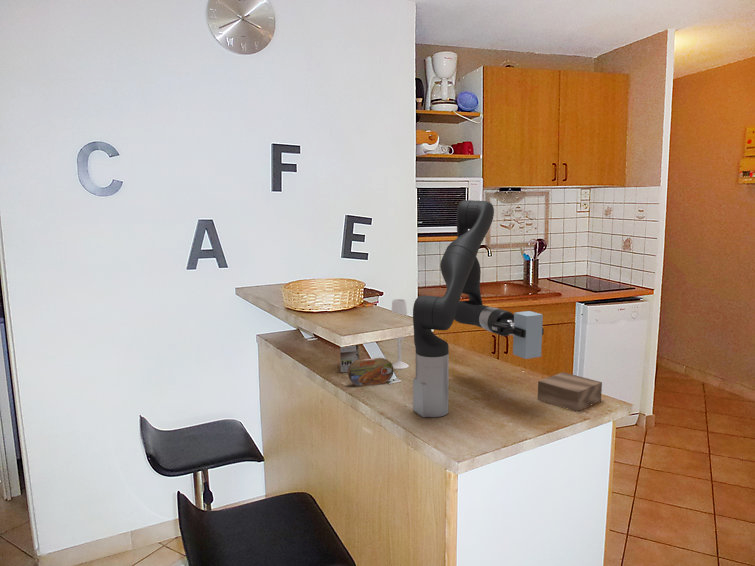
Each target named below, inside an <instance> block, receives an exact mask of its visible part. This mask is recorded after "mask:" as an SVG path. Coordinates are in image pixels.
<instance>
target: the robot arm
mask: <svg viewBox="0 0 755 566" xmlns="http://www.w3.org/2000/svg"><path fill="white" fill-rule="evenodd" d="M456 210H457V211H456V235H457V236H456V238H455V239H454V240H453V241H452V242H450V243H449V244H448V245H447V247H446V249H445V251H444V253H443V255H442V257H441V260H440V263H439V264H440V265H439V267H440V272H441V276H442V278H443V280H444V282H445V286H446V291H445V294H444V295H443V296H438V295H419V296H418V297H416V298H415V301H414V303H413V307H412V323H413V326H412V327H413V343H414V347H415V377H413V378H412V411H413V412H414V413H416V414H418V416H420V417H422V418H439V417H443V416H447V414H448V413H449V372H450V371H449V369H450V368H449V362H450V361H449V360H450V359H449V358H450V357H449V354H450V353H449V350H450V349H449V347H450V346H449V343H448V342H447V341H446V340H445V339H442V338H440V337H439V336H437V335H436V334H435V333H434V332H433V330H435V331H448V330H449V329H450V328H451V327H452V326H453V323H454V321H456V322H457V323H459V324H463V325H469V326H470V325H471V326H476V327H478V328H481V329H484V330H486V331H488V332H490V333H491V334H492V333H493V334H496V335H498V336H501V337H508V336H511V337H513V336H515V335H516V336H519V337H522V338H525V337H526V330H524V329H521V328H518V327H516V326H514V313H512V312H511V311H508V310H504V309H501V308H497V307H492V306H488V305H485V304H483V300H482V294H481V289H480V288H481V287H480V286H481V274H482V273H481V264H480V261H479V259H478V257H477V255H478V252H479V249H480V248H481V245H482V244H483V241H484V239H485V237H486V236H487V234H488V232H489V230H490V228H491V226H492V223H493V221H494V216H495V209H494V205H493V203H492V202H490V201H487V200H469V199H464V200H461V201H460V202H459V204H458V206H457V209H456ZM463 294H464V295H467V296H468V300H461V297H462V295H463ZM544 330H545V328H544V327H543V326H542V336H544V332H545V331H544Z"/></svg>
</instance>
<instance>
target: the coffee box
mask: <svg viewBox="0 0 755 566" xmlns="http://www.w3.org/2000/svg"><path fill="white" fill-rule="evenodd" d="M339 347H340V346H339ZM339 351H340V372H341V373H348V368H349V366H350V365H351V364H352V363H353V362H354V361H357V360H360V344H359V345H353V346H347V347H340V350H339Z"/></svg>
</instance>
